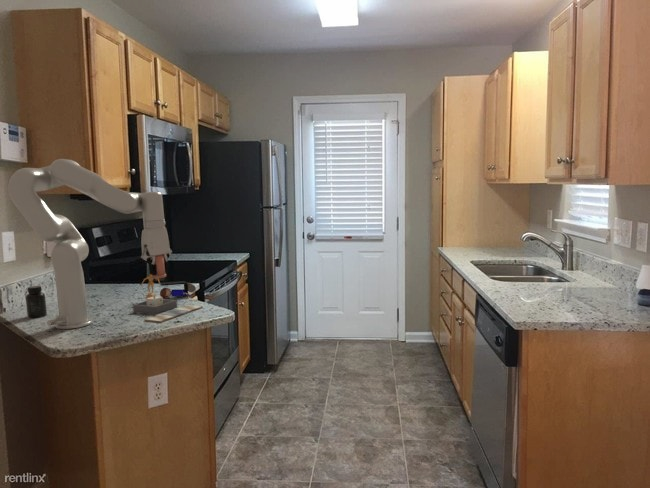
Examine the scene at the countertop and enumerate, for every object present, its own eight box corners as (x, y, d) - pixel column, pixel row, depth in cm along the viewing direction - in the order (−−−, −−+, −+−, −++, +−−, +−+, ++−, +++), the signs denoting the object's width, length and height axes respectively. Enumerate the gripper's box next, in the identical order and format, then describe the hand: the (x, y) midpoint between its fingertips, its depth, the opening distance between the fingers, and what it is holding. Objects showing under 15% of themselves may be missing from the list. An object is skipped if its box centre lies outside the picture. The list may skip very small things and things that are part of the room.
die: (155, 310, 210) (154, 298, 210) (146, 309, 212) (145, 298, 212) (164, 307, 215) (163, 296, 214) (155, 306, 217) (154, 295, 216)
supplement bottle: (30, 314, 213) (27, 286, 211) (49, 313, 214) (46, 284, 213) (25, 319, 206) (22, 289, 205) (44, 317, 208) (41, 287, 206)
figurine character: (192, 296, 243) (158, 297, 236) (193, 280, 243) (159, 280, 236) (195, 299, 237) (160, 300, 230) (196, 282, 237) (161, 283, 230)
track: (160, 322, 193) (160, 321, 193) (144, 320, 196) (144, 319, 196) (202, 307, 214) (202, 306, 214) (187, 306, 218) (187, 304, 218)
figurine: (140, 303, 226) (137, 276, 225) (144, 300, 232) (142, 273, 231) (159, 302, 226) (157, 275, 225) (163, 299, 232) (161, 272, 231)
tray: (155, 314, 206) (155, 307, 205) (133, 312, 211) (133, 304, 211) (177, 307, 216) (176, 300, 216) (155, 305, 222) (154, 298, 221)
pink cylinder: (159, 278, 193) (156, 249, 192) (148, 278, 196) (146, 248, 194) (169, 276, 198) (166, 247, 196) (159, 275, 200) (156, 246, 199)
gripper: (163, 223, 203) (168, 269, 206) (129, 227, 189) (133, 277, 191) (178, 222, 200) (182, 269, 202) (143, 227, 185) (148, 278, 187)
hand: (158, 272), depth 197 cm, fingers closed on pink cylinder, 4 cm apart
